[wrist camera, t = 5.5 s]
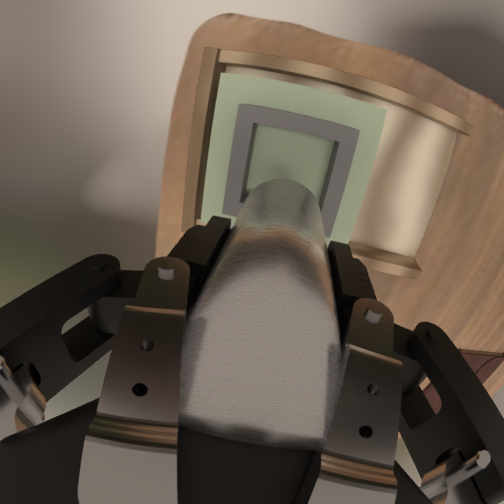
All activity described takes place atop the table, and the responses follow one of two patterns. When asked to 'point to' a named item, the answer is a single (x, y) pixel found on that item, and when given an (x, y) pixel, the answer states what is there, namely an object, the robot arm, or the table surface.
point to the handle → (265, 328)
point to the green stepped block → (290, 147)
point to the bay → (385, 164)
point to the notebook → (480, 365)
